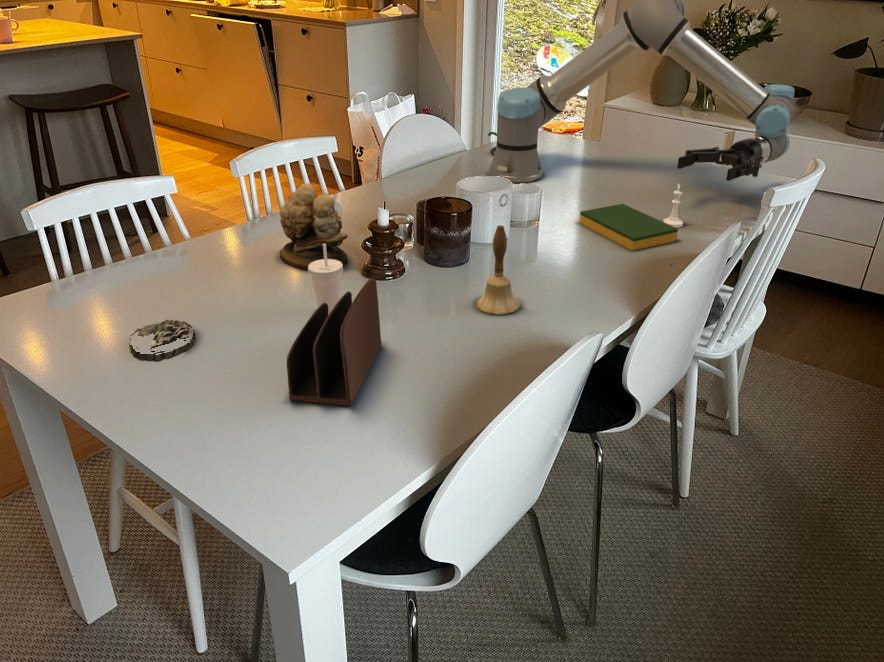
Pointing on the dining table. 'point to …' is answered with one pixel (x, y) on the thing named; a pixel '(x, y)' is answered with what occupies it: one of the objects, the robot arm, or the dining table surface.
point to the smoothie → (326, 280)
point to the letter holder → (335, 349)
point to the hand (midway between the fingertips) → (703, 169)
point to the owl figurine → (311, 228)
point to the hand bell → (498, 282)
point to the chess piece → (675, 210)
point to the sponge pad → (628, 226)
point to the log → (165, 338)
